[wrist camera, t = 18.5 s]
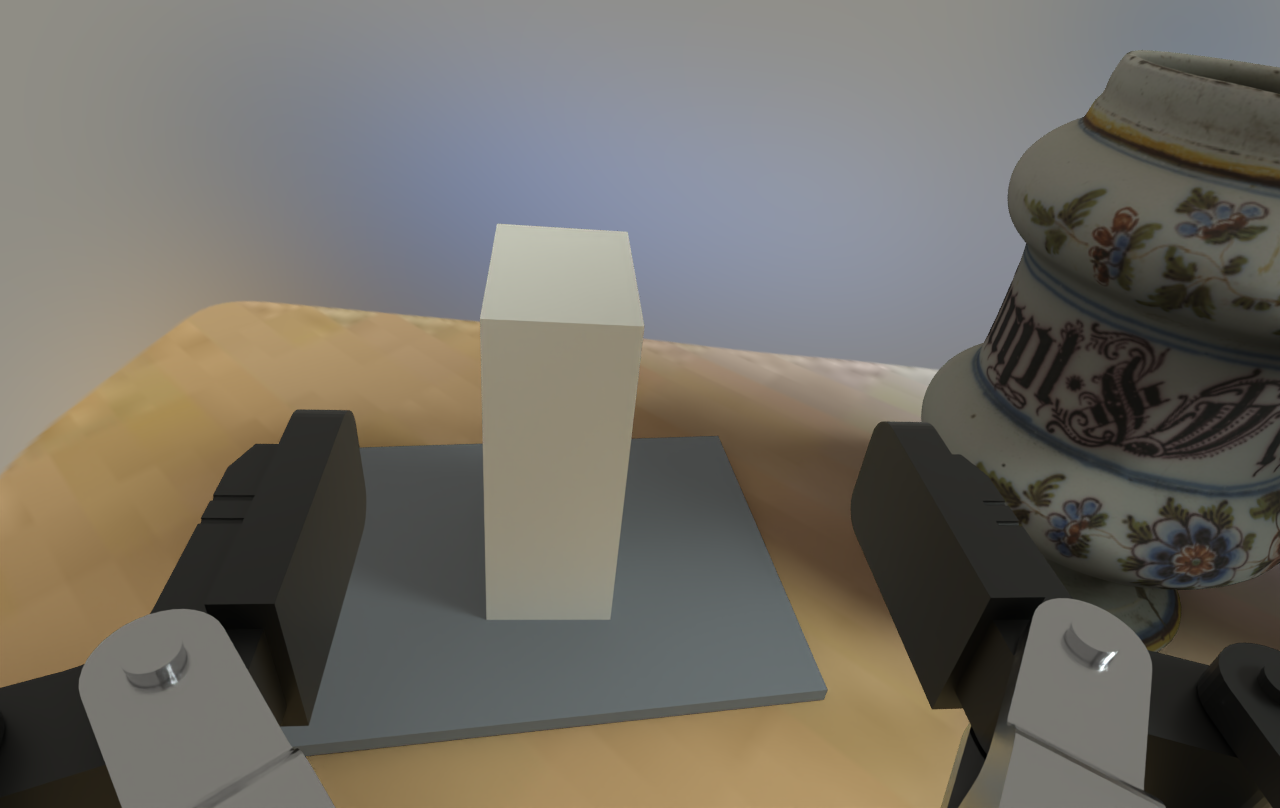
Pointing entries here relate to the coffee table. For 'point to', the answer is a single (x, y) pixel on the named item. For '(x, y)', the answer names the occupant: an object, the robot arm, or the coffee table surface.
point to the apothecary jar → (1139, 342)
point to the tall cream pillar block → (556, 418)
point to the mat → (553, 649)
